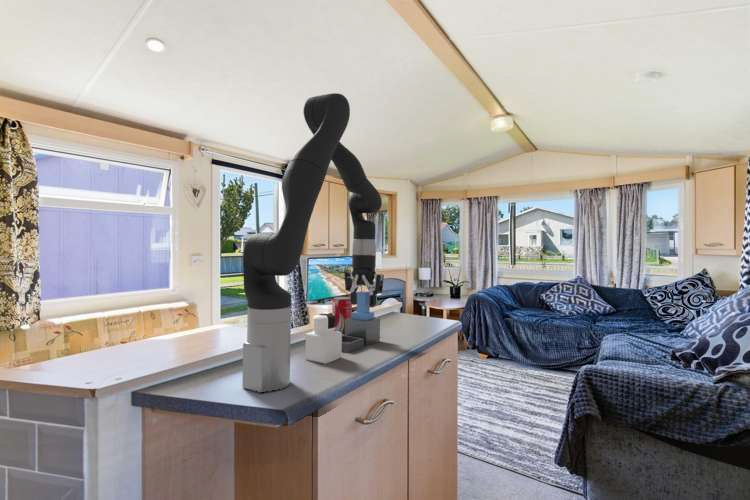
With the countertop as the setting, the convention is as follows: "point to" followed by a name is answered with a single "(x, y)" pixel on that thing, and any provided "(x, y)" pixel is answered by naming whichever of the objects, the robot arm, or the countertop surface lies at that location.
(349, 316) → the soda can
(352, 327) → the grey square tube
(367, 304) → the plug
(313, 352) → the medicine bottle
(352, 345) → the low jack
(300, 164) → the robot arm
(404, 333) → the countertop surface
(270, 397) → the countertop surface
